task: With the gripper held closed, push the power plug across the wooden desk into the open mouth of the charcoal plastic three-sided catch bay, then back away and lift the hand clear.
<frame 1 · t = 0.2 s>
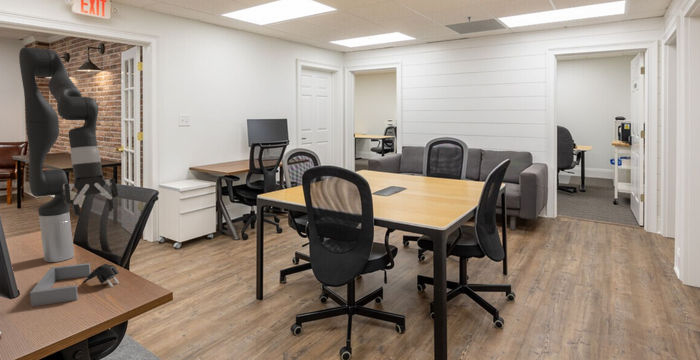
hand: (94, 214, 131), 23 cm above the table, tool pointing down, fingers open, 8 cm apart
catch bay: (65, 288, 130), on the table
power plug: (100, 284, 134), on the table
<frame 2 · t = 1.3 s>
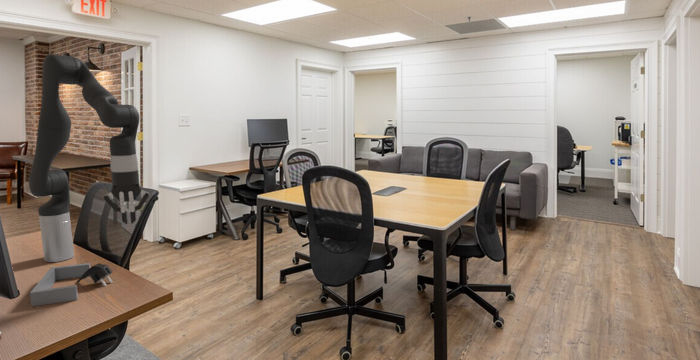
hand: (129, 223, 134), 19 cm above the table, tool pointing down, fingers closed
power plug: (94, 284, 135), on the table
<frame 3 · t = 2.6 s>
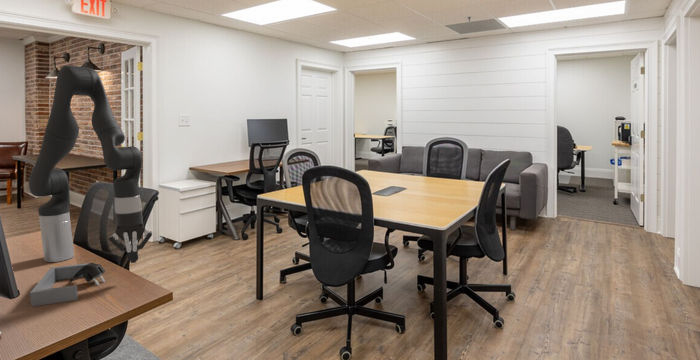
hand: (133, 262, 136), 6 cm above the table, tool pointing down, fingers closed
power plug: (86, 283, 135), on the table
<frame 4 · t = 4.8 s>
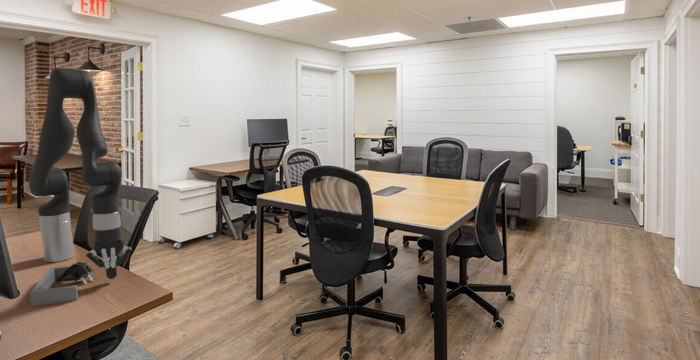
hand: (112, 278, 135), 1 cm above the table, tool pointing down, fingers closed
power plug: (74, 282, 136), on the table
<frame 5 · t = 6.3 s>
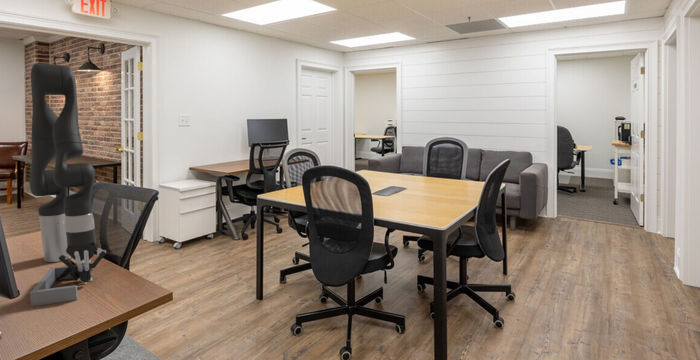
hand: (85, 281, 132), 1 cm above the table, tool pointing down, fingers closed
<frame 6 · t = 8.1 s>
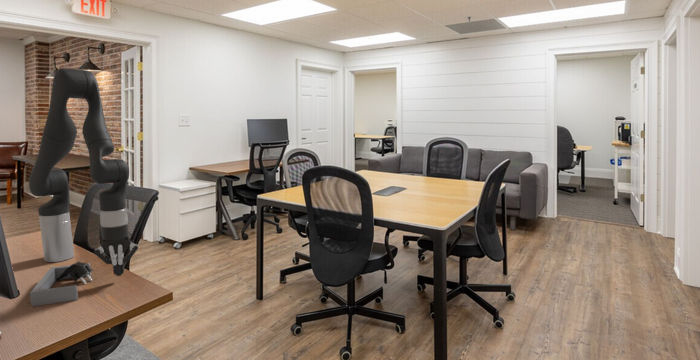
hand: (119, 275, 135), 2 cm above the table, tool pointing down, fingers closed
nothing on the table moved.
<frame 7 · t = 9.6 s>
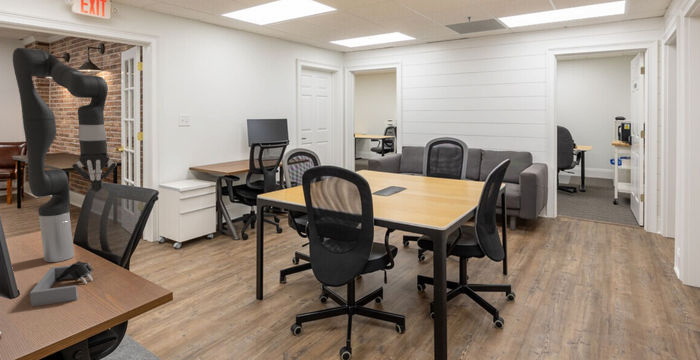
hand: (97, 191, 139), 28 cm above the table, tool pointing down, fingers closed
power plug: (73, 282, 136), on the table, touching catch bay
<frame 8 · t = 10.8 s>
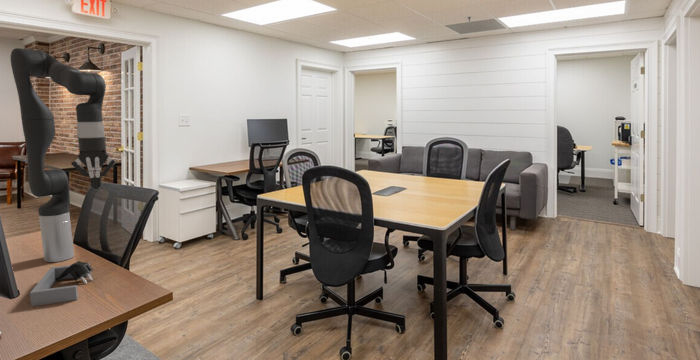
hand: (96, 188, 139), 29 cm above the table, tool pointing down, fingers closed
power plug: (74, 282, 136), on the table
at the end: power plug inside the target area on the catch bay (5.9 cm from its centre), point 0.0 cm above the catch bay's base; power plug tilted 0° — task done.
